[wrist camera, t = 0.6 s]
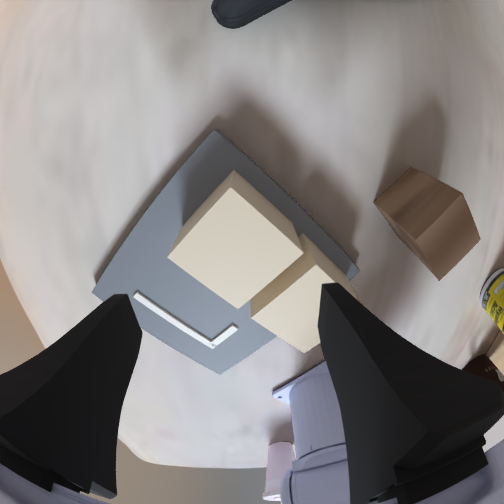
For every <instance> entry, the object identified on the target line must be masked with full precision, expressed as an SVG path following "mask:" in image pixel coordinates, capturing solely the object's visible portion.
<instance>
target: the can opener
mask: <svg viewBox="0 0 504 504" xmlns="http://www.w3.org/2000/svg"><path fill="white" fill-rule="evenodd" d="M289 1H292V0H214V1H213V3H212V6H211V9H212V13H213V15H214V17H215V18H216V20H217V22H218V23H219V24H220V25H222V26H224V27H226V28H231V29H235V28H240V27H242V26H245V25H247V24H248V23H250V22H252V21H254V20H256V19H258V18H259V17H261V16H263V15H265V14H267V13H269V12H271V11H272V10H274V9H276V8H278V7H280V6H282V5H284V4H286V3H287V2H289Z"/></svg>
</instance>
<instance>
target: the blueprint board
mask: <svg viewBox="0 0 504 504" xmlns="http://www.w3.org/2000/svg"><path fill="white" fill-rule="evenodd" d="M358 272H360V270H359V269H358V267H357V265H356V264H355V263H354V262H353V261H352V260H351V258H350V257H349V256H348V255H347V254H346V253H345V252H344V251H343V250H342V249H341V248H340V247H339V246H338V245H337V244H336V242H335V241H334V240H333V239H332V238H331V237H330V236H329V235H328V234H327V233H326V232H325V231H324V230H323V229H322V228H321V227H320V226H319V225H318V224H317V223H316V222H315V221H314V220H313V219H312V218H311V217H310V216H309V215H308V214H307V213H306V212H305V211H304V210H303V209H302V208H301V207H300V206H299V205H298V204H297V203H296V202H295V201H294V200H293V199H292V198H291V197H290V196H289V195H288V194H287V193H286V192H285V191H284V190H283V189H282V188H281V187H280V186H279V185H278V184H276V183H275V182H274V181H273V180H272V179H271V178H270V177H269V176H268V175H267V174H266V173H265V172H264V171H263V170H262V169H260V168H259V167H258V166H257V165H256V164H255V163H254V162H253V161H252V160H251V159H250V158H248V157H247V156H246V155H245V154H244V153H243V152H242V151H241V150H240V149H238V148H237V147H236V146H235V145H234V144H233V143H232V142H230V141H229V140H228V139H227V138H226V137H225V136H224V135H222V134H221V133H220V132H219V131H218V130H217V129H214V130H213V131H212V132H211V133H210V135H209V136H208V137H207V138H206V139H205V140H204V141H203V142H202V143H201V145H200V146H199V147H198V148H197V149H196V150H195V151H194V152H193V154H192V155H191V156H190V157H189V158H188V159H187V161H186V162H185V163H184V164H183V165H182V166H181V168H180V169H179V170H178V171H177V172H176V174H175V175H174V176H173V177H172V179H171V180H170V181H169V182H168V184H167V185H166V186H165V187H164V189H163V190H162V191H161V192H160V194H159V195H158V196H157V197H156V199H155V200H154V201H153V203H152V204H151V205H150V207H149V208H148V209H147V211H146V212H145V213H144V215H143V216H142V217H141V219H140V220H139V221H138V223H137V224H136V226H135V227H134V228H133V230H132V231H131V233H130V234H129V235H128V237H127V238H126V240H125V241H124V243H123V244H122V246H121V247H120V248H119V250H118V251H117V253H116V254H115V256H114V257H113V259H112V260H111V262H110V264H109V265H108V267H107V268H106V270H105V271H104V273H103V274H102V276H101V278H100V279H99V281H98V283H97V284H96V286H95V287H94V289H93V291H92V293H93V294H94V295H96V296H97V297H98V298H99V299H101V300H102V301H103V302H104V301H105V300H107V299H108V298H109V297H111V296H112V295H114V294H128V296H129V299H130V302H131V305H132V307H133V310H134V313H135V315H136V318H137V320H138V323H139V325H140V328H142V329H143V330H145V331H146V332H148V333H150V334H151V335H153V336H154V337H156V338H157V339H159V340H161V341H162V342H164V343H165V344H167V345H169V346H170V347H172V348H174V349H175V350H177V351H179V352H180V353H182V354H184V355H185V356H187V357H189V358H191V359H192V360H194V361H196V362H198V363H199V364H201V365H203V366H205V367H207V368H208V369H210V370H212V371H214V372H216V373H218V374H222V373H223V372H225V371H226V370H228V369H229V368H231V367H232V366H234V365H235V364H237V363H239V362H240V361H242V360H243V359H244V358H246V357H247V356H249V355H250V354H252V353H253V352H255V351H256V350H258V349H259V348H261V347H262V346H263V345H265V344H266V343H268V342H269V341H271V340H272V339H273V338H275V337H276V336H278V337H280V338H281V339H283V340H284V341H286V342H287V343H289V344H290V345H292V346H294V347H295V348H297V349H298V350H300V351H301V352H303V353H306V352H307V351H309V350H310V349H312V348H313V347H315V346H316V345H318V344H319V343H321V342H320V337H319V332H318V326H317V325H318V316H319V307H320V297H321V287H322V284H325V283H336V282H338V283H339V284H340V285H342V286H343V287H344V288H345V289H346V290H347V291H348V292H349V293H350V294H351V295H352V296H353V297H355V298H356V299H357V300H358V301H359V299H358V297H357V295H356V294H355V292H354V290H353V288H352V286H351V284H350V282H349V280H350V279H351V278H352V277H354V276H355V275H356V274H357V273H358ZM359 302H360V301H359Z"/></svg>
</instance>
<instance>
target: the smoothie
mask: <svg viewBox="0 0 504 504" xmlns="http://www.w3.org/2000/svg"><path fill="white" fill-rule="evenodd" d="M295 460H296V458H295V454H294V451H293V447H292V444H291V443H290V442H276V443H273V444H271V445H269V451H268V463H267V474H266V484H265V492H264V493H263V499H265V500H270V501H280V500H281V497H280V485H281V480H282V478H283V476H284V475H285V473H286V471H288V470H290V469H292V461H295ZM281 504H282V503H281Z"/></svg>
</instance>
